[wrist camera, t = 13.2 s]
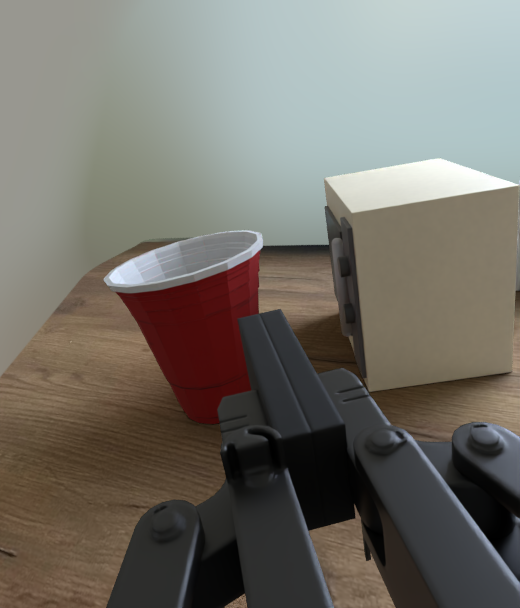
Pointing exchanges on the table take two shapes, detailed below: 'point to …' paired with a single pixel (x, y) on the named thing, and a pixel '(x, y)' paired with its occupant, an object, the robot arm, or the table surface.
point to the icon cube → (518, 252)
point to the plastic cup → (195, 313)
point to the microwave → (424, 271)
